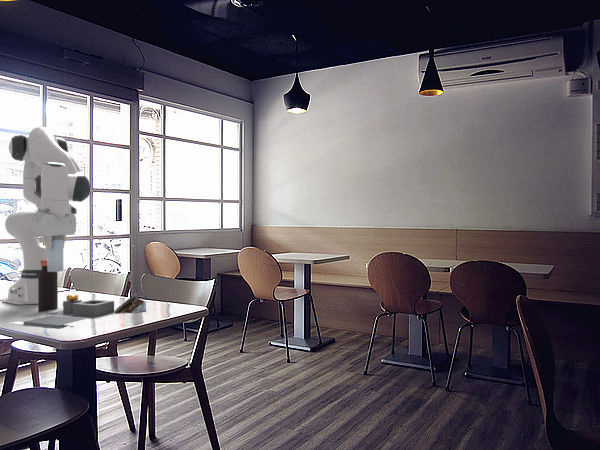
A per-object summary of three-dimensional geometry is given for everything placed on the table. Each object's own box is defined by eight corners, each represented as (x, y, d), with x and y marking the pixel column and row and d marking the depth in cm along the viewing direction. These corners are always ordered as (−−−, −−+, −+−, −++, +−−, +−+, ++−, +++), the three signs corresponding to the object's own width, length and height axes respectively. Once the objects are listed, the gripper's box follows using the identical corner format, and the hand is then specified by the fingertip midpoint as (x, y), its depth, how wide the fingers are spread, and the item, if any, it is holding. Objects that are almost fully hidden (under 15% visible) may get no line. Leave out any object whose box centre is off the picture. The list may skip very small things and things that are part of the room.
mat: (23, 324, 175) (23, 321, 175) (51, 318, 186) (51, 315, 186) (60, 328, 169) (60, 325, 169) (86, 321, 180) (86, 318, 180)
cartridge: (45, 270, 178) (45, 236, 177) (61, 269, 181) (61, 235, 181) (49, 272, 174) (49, 236, 173) (65, 271, 177) (65, 236, 177)
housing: (45, 316, 188) (45, 303, 188) (77, 309, 203) (77, 297, 203) (93, 321, 181) (93, 307, 181) (123, 313, 196) (123, 300, 196)
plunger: (64, 310, 193) (64, 296, 193) (72, 308, 197) (72, 294, 196) (72, 311, 191) (72, 296, 191) (80, 309, 195) (80, 295, 195)
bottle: (35, 313, 195) (35, 260, 195) (41, 310, 202) (41, 259, 202) (55, 312, 197) (54, 260, 196) (59, 309, 203) (59, 259, 203)
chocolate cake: (127, 319, 188) (147, 293, 194) (113, 312, 190) (133, 287, 197) (135, 332, 195) (155, 307, 202) (121, 325, 197) (140, 301, 204)
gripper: (45, 208, 166) (45, 251, 166) (79, 209, 187) (79, 247, 187) (27, 208, 167) (27, 250, 167) (63, 209, 187) (63, 247, 188)
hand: (55, 249), depth 177 cm, fingers closed on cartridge, 5 cm apart
